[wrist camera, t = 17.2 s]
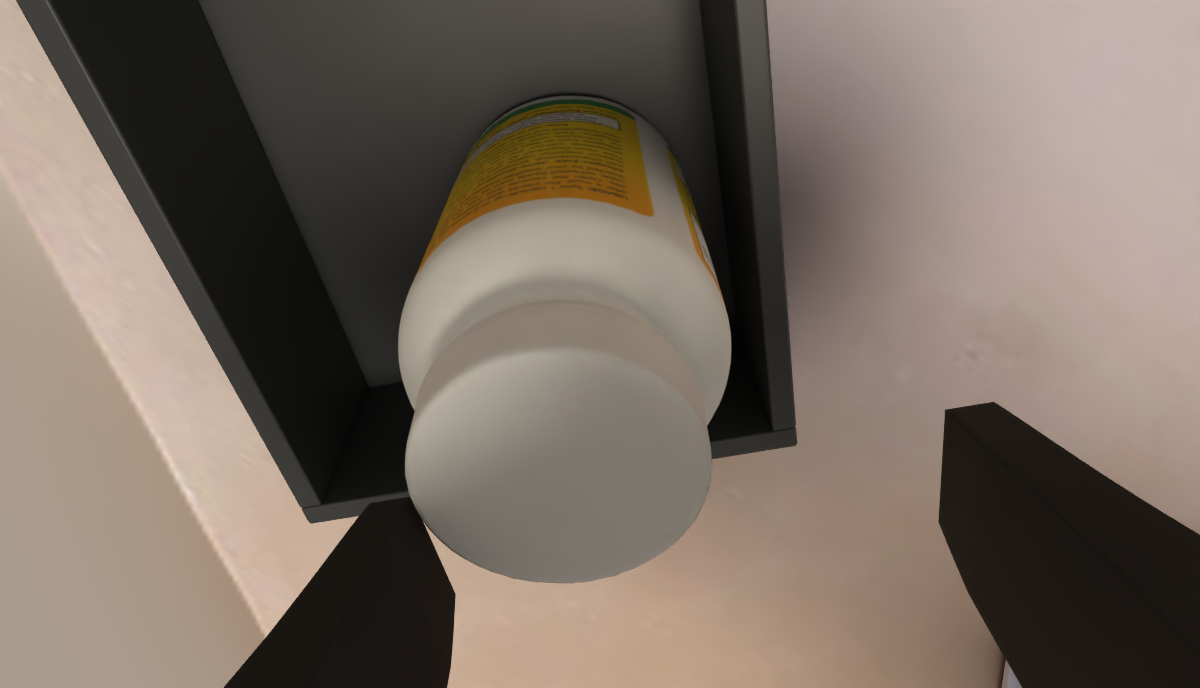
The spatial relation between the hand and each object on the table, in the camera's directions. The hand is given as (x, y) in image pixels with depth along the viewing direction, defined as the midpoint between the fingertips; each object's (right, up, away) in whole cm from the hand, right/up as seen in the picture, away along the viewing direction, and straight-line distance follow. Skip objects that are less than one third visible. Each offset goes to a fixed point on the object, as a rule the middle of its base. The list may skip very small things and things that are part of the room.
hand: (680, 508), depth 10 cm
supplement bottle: (-2, +6, +8) cm, 10 cm away
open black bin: (-4, +7, +7) cm, 11 cm away
